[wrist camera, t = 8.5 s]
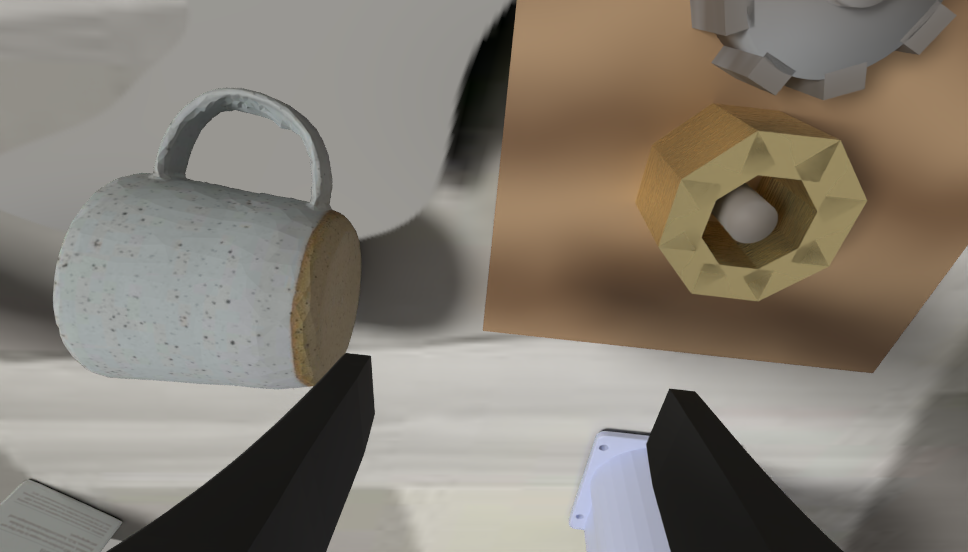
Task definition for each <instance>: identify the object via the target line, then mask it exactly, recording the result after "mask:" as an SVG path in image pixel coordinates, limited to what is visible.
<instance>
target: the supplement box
mask: <svg viewBox="0 0 968 552" xmlns="http://www.w3.org/2000/svg"><path fill="white" fill-rule="evenodd" d="M121 524H122V522H121V521H120V520H118V519H116V518H114V517H112V516H110V515H108V514H105V513H103V512H101V511H99V510H97V509H94V508H92V507H90V506H88V505H86V504H84V503H81V502H79V501H77V500H75V499H73V498H70V497H68V496H66V495H64V494H62V493H59V492H57V491H55V490H52V489H50V488H48V487H46V486H44V485H42V484H39V483H37V482H34V481H32V480H26V481H24V482H22V483H21V484H20V485H19V486H18V487H17V488H16V489H15V490H14V491H13V492H12V493H11V494H10V495H9V496H8V497H7V498H6V499H5V500H4V501H3V502H2V503H1V504H0V552H101V550H102V549H103V547H104V546H105V545H106V544H107V542H108V541H109V540H110V539H111V537H112V536H113V535H114V533H115V532H116V531H117V529H118V528H119V527H120V526H121Z"/></svg>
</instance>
